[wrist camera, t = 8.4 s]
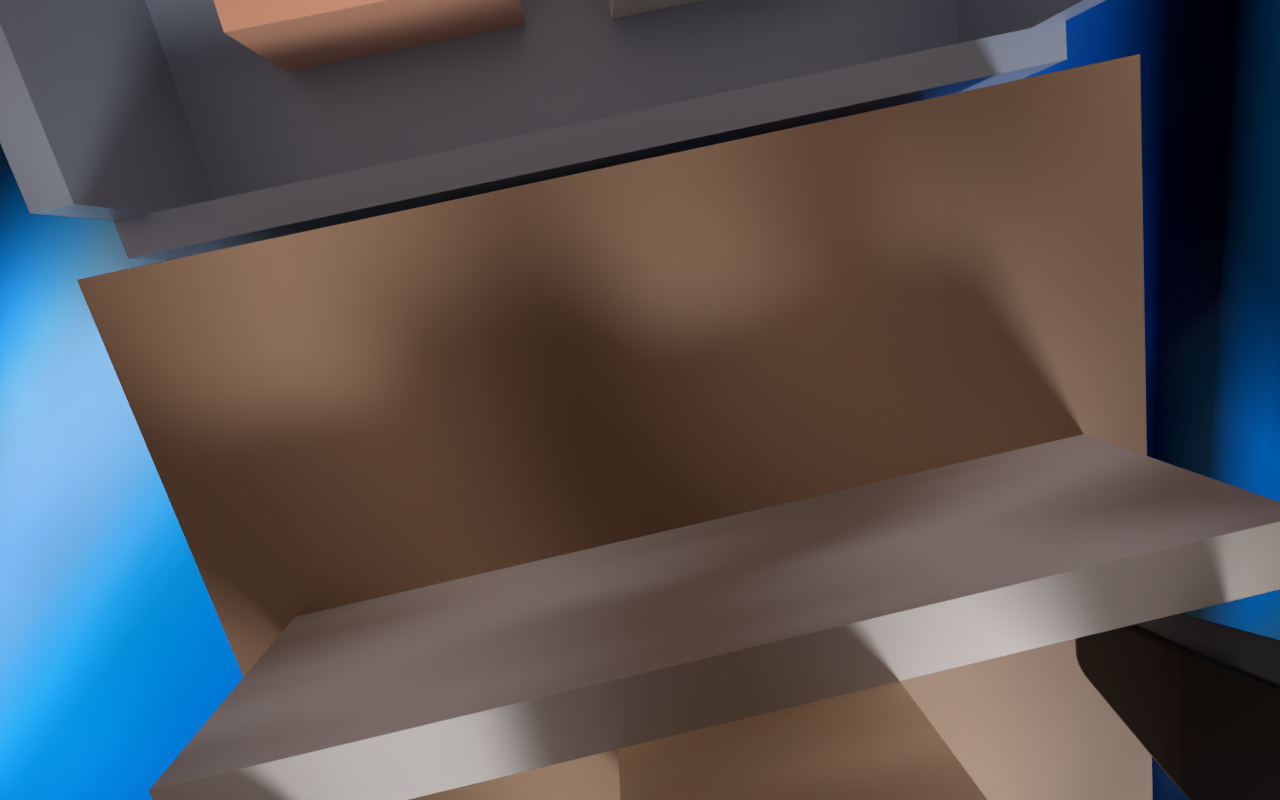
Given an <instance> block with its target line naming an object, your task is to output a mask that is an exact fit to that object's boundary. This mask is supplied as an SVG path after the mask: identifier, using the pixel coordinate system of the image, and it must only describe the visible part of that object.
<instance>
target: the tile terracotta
mask: <svg viewBox="0 0 1280 800" xmlns="http://www.w3.org/2000/svg"><path fill="white" fill-rule="evenodd" d="M213 1H214V4H215V7H216V10H217V13H218V16H219V19H220V22H221V25H222V28H223V31H224V33H225V34H227V35H229V36H230V37H232V38H233V39H235V40H237V41H238V42H240V43H241V44H243V45H245V46H246V47H248V48H249V49H251V50H253V51H254V52H256V53H257V54H259V55H261V56H262V57H264V58H265V59H267V60H269V61H270V62H272V63H273V64H275V65H276V66H278V67H280V68H281V69H283V70H284V71H286V72H291V71H296V70H301V69H306V68H311V67H316V66H321V65H326V64H331V63H336V62H341V61H346V60H351V59H356V58H361V57H366V56H371V55H376V54H381V53H386V52H391V51H396V50H401V49H406V48H411V47H416V46H421V45H426V44H431V43H436V42H441V41H446V40H451V39H456V38H461V37H466V36H471V35H476V34H481V33H486V32H491V31H496V30H501V29H506V28H511V27H516V26H521V25H526V23H525V18H524V14H523V9H522V5H521V0H213Z"/></svg>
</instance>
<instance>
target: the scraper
mask: <svg viewBox="0 0 1280 800" xmlns="http://www.w3.org/2000/svg"><path fill="white" fill-rule="evenodd" d="M1279 589H1280V502H1277V501H1274V500H1272V499H1269V498H1266V497H1263V496H1260V495H1257V494H1254V493H1251V492H1249V491H1246V490H1243V489H1240V488H1237V487H1234V486H1231V485H1228V484H1226V483H1223V482H1220V481H1217V480H1214V479H1211V478H1208V477H1205V476H1203V475H1200V474H1197V473H1194V472H1191V471H1188V470H1185V469H1182V468H1180V467H1177V466H1174V465H1171V464H1168V463H1165V462H1162V461H1159V460H1157V459H1154V458H1151V457H1148V456H1145V455H1142V454H1139V453H1136V452H1134V451H1131V450H1128V449H1125V448H1122V447H1119V446H1116V445H1113V444H1111V443H1108V442H1105V441H1102V440H1099V439H1096V438H1093V437H1090V436H1088V435H1085V434H1082V435H1078V436H1074V437H1069V438H1065V439H1061V440H1056V441H1052V442H1048V443H1043V444H1039V445H1035V446H1030V447H1026V448H1022V449H1018V450H1013V451H1009V452H1005V453H1000V454H996V455H992V456H987V457H983V458H979V459H974V460H970V461H966V462H961V463H957V464H953V465H948V466H944V467H940V468H935V469H931V470H927V471H923V472H918V473H914V474H910V475H905V476H901V477H897V478H892V479H888V480H884V481H879V482H875V483H871V484H866V485H862V486H858V487H853V488H849V489H845V490H840V491H836V492H832V493H828V494H823V495H819V496H815V497H810V498H806V499H802V500H797V501H793V502H789V503H784V504H780V505H776V506H771V507H767V508H763V509H758V510H754V511H750V512H746V513H741V514H737V515H733V516H728V517H724V518H720V519H715V520H711V521H707V522H702V523H698V524H694V525H689V526H685V527H681V528H676V529H672V530H668V531H663V532H659V533H655V534H651V535H646V536H642V537H638V538H633V539H629V540H625V541H620V542H616V543H612V544H607V545H603V546H599V547H594V548H590V549H586V550H581V551H577V552H573V553H569V554H564V555H560V556H556V557H551V558H547V559H543V560H538V561H534V562H530V563H525V564H521V565H517V566H512V567H508V568H504V569H499V570H495V571H491V572H486V573H482V574H478V575H474V576H469V577H465V578H461V579H456V580H452V581H448V582H443V583H439V584H435V585H430V586H426V587H422V588H417V589H413V590H409V591H404V592H400V593H396V594H392V595H387V596H383V597H379V598H374V599H370V600H366V601H361V602H357V603H353V604H348V605H344V606H340V607H335V608H331V609H327V610H322V611H318V612H314V613H309V614H305V615H301V616H297V617H294V618H293V619H292V621H291V622H290V623H289V624H288V625H287V627H286V628H285V629H284V630H283V631H282V633H281V634H280V635H279V636H278V637H277V639H276V640H275V641H274V642H273V643H272V645H271V646H270V647H269V648H268V649H267V650H266V652H265V653H264V654H263V655H262V656H261V658H260V659H259V660H258V661H257V662H256V664H255V665H254V666H253V667H252V668H251V670H250V671H249V672H248V673H247V674H246V676H245V677H244V678H243V679H242V680H241V681H240V683H239V684H238V685H237V686H236V687H235V689H234V690H233V691H232V692H231V693H230V695H229V696H228V697H227V698H226V699H225V701H224V702H223V703H222V704H221V705H220V707H219V708H218V709H217V710H216V711H215V712H214V714H213V715H212V716H211V717H210V718H209V720H208V721H207V722H206V723H205V724H204V726H203V727H202V728H201V729H200V730H199V732H198V733H197V734H196V735H195V736H194V738H193V739H192V740H191V741H190V742H189V744H188V745H187V746H186V747H185V748H184V749H183V751H182V752H181V753H180V754H179V755H178V757H177V758H176V759H175V760H174V761H173V763H172V764H171V765H170V766H169V767H168V769H167V770H166V771H165V772H164V773H163V775H162V776H161V777H160V778H159V779H158V780H157V782H156V783H155V784H154V785H153V786H152V788H151V789H150V790H149V792H150V794H151V796H152V798H153V800H409V799H413V798H417V797H422V796H426V795H430V794H434V793H438V792H442V791H446V790H451V789H455V788H459V787H463V786H467V785H471V784H475V783H480V782H484V781H488V780H492V779H496V778H500V777H504V776H509V775H513V774H517V773H521V772H525V771H529V770H533V769H538V768H542V767H546V766H550V765H554V764H558V763H562V762H567V761H571V760H575V759H579V758H583V757H587V756H591V755H596V754H600V753H604V752H608V751H612V750H616V749H618V762H619V781H620V799H621V800H987V799H986V797H985V796H984V795H983V793H982V792H981V791H980V789H979V788H978V786H977V785H976V784H975V782H974V781H973V780H972V778H971V777H970V776H969V774H968V773H967V772H966V770H965V769H964V767H963V766H962V765H961V763H960V762H959V761H958V759H957V758H956V757H955V755H954V754H953V753H952V751H951V750H950V748H949V747H948V746H947V744H946V743H945V742H944V740H943V739H942V738H941V736H940V735H939V734H938V732H937V731H936V729H935V728H934V727H933V725H932V724H931V723H930V721H929V720H928V719H927V717H926V716H925V715H924V713H923V712H922V711H921V709H920V708H919V706H918V705H917V704H916V702H915V701H914V700H913V698H912V697H911V696H910V694H909V693H908V692H907V690H906V689H905V687H904V686H903V685H902V683H901V682H900V681H902V680H906V679H910V678H914V677H919V676H923V675H927V674H931V673H935V672H939V671H943V670H948V669H952V668H956V667H960V666H964V665H968V664H972V663H977V662H981V661H985V660H989V659H993V658H997V657H1001V656H1006V655H1010V654H1014V653H1018V652H1022V651H1026V650H1030V649H1035V648H1039V647H1043V646H1047V645H1051V644H1055V643H1059V642H1063V641H1068V640H1072V639H1076V638H1080V637H1084V636H1088V635H1092V634H1097V633H1101V632H1105V631H1109V630H1113V629H1117V628H1121V627H1126V626H1130V625H1134V624H1138V623H1142V622H1146V621H1150V620H1155V619H1159V618H1163V617H1167V616H1171V615H1175V614H1179V613H1184V612H1188V611H1192V610H1196V609H1200V608H1204V607H1208V606H1213V605H1217V604H1221V603H1225V602H1229V601H1233V600H1237V599H1242V598H1246V597H1250V596H1254V595H1258V594H1262V593H1266V592H1271V591H1275V590H1279Z"/></svg>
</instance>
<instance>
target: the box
mask: <svg viewBox="0 0 1280 800" xmlns="http://www.w3.org/2000/svg"><path fill="white" fill-rule="evenodd" d="M1103 1H1105V0H701V1H696V2H691V3H687V4H682V5H677V6H672V7H667V8H663V9H658V10H653V11H648V12H643V13H638V14H634V15H629V16H624V17H619V18H614V19H612V17H611V12H610V7H609V2H608V0H521V5H522V9H523V14H524V18H525V23H526V25H521V26H516V27H511V28H506V29H501V30H496V31H491V32H486V33H481V34H476V35H471V36H466V37H461V38H456V39H451V40H446V41H441V42H436V43H431V44H426V45H421V46H416V47H411V48H406V49H401V50H396V51H391V52H386V53H381V54H376V55H371V56H366V57H361V58H356V59H351V60H346V61H341V62H336V63H331V64H326V65H321V66H316V67H311V68H306V69H301V70H296V71H291V72H286V71H284V70H283V69H281V68H280V67H278V66H276V65H275V64H273V63H272V62H270V61H269V60H267V59H265V58H264V57H262V56H261V55H259V54H257V53H256V52H254V51H253V50H251V49H249V48H248V47H246V46H245V45H243V44H241V43H240V42H238V41H237V40H235V39H233V38H232V37H230V36H229V35H227V34H225V33H224V31H223V28H222V25H221V22H220V19H219V16H218V13H217V10H216V7H215V4H214V1H213V0H0V144H1V146H2V148H3V151H4V153H5V156H6V158H7V160H8V163H9V165H10V167H11V170H12V172H13V174H14V177H15V179H16V181H17V184H18V186H19V188H20V191H21V193H22V195H23V198H24V200H25V202H26V205H27V207H28V209H29V212H30V213H32V214H43V215H55V216H66V217H77V218H88V219H100V220H111V221H114V223H115V225H116V228H117V230H118V233H119V235H120V238H121V240H122V243H123V245H124V248H125V250H126V253H127V255H128V258H153V259H178V258H183V257H187V256H192V255H197V254H201V253H206V252H211V251H216V250H220V249H225V248H230V247H234V246H239V245H244V244H249V243H253V242H258V241H263V240H267V239H272V238H277V237H282V236H286V235H291V234H296V233H300V232H305V231H310V230H314V229H319V228H324V227H329V226H333V225H338V224H343V223H347V222H352V221H357V220H362V219H366V218H371V217H376V216H380V215H385V214H390V213H394V212H399V211H404V210H409V209H413V208H418V207H423V206H427V205H432V204H437V203H442V202H446V201H451V200H456V199H460V198H465V197H470V196H474V195H479V194H484V193H489V192H493V191H498V190H503V189H507V188H512V187H517V186H522V185H526V184H531V183H536V182H540V181H545V180H550V179H554V178H559V177H564V176H569V175H573V174H578V173H583V172H587V171H592V170H597V169H602V168H606V167H611V166H616V165H620V164H625V163H630V162H634V161H639V160H644V159H649V158H653V157H658V156H663V155H667V154H672V153H677V152H682V151H686V150H691V149H696V148H700V147H705V146H710V145H715V144H719V143H724V142H729V141H733V140H738V139H743V138H747V137H752V136H757V135H762V134H766V133H771V132H776V131H780V130H785V129H790V128H795V127H799V126H804V125H809V124H813V123H818V122H823V121H827V120H832V119H837V118H842V117H846V116H851V115H856V114H860V113H865V112H870V111H875V110H879V109H884V108H889V107H893V106H898V105H903V104H907V103H912V102H917V101H922V100H926V99H931V98H936V97H940V96H945V95H950V94H955V93H959V92H964V91H969V90H973V89H978V88H983V87H987V86H992V85H997V84H1002V83H1006V82H1011V81H1016V80H1020V79H1022V78H1025V77H1027V76H1029V75H1032V74H1034V73H1036V72H1039V71H1041V70H1043V69H1046V68H1048V67H1050V66H1053V65H1055V64H1057V63H1060V62H1062V61H1064V60H1067V44H1066V20H1068V19H1070V18H1072V17H1074V16H1076V15H1078V14H1080V13H1082V12H1084V11H1086V10H1088V9H1090V8H1092V7H1093V6H1095V5H1097V4H1099V3H1101V2H1103Z"/></svg>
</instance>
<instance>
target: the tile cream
mask: <svg viewBox="0 0 1280 800" xmlns="http://www.w3.org/2000/svg"><path fill="white" fill-rule="evenodd" d="M696 1H701V0H608V2H609V7H610V12H611V17H612V19H614V18H619V17H624V16H629V15H634V14H638V13H643V12H648V11H653V10H658V9H663V8H667V7H672V6H677V5H682V4H687V3H691V2H696Z"/></svg>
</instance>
